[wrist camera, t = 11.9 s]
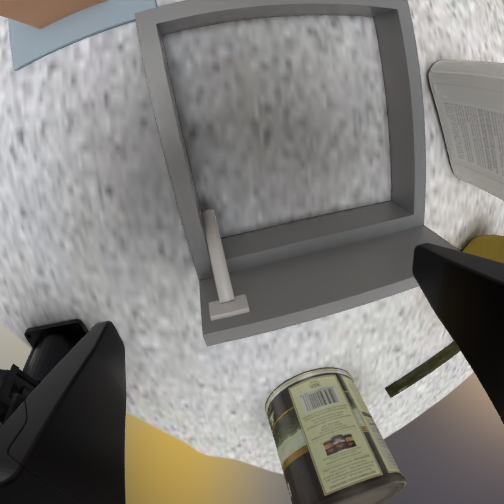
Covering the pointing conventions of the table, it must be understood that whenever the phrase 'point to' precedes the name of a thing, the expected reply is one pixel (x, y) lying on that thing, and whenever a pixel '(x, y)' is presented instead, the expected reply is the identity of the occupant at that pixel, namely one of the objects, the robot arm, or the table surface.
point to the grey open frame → (309, 230)
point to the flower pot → (487, 247)
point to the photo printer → (472, 119)
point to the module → (42, 10)
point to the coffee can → (330, 442)
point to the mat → (70, 29)
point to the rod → (423, 370)
